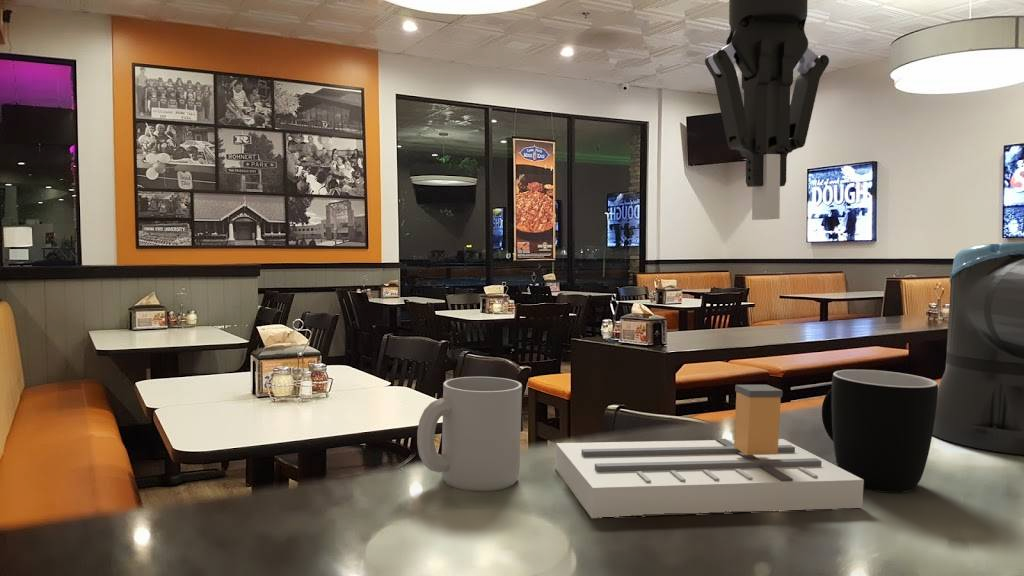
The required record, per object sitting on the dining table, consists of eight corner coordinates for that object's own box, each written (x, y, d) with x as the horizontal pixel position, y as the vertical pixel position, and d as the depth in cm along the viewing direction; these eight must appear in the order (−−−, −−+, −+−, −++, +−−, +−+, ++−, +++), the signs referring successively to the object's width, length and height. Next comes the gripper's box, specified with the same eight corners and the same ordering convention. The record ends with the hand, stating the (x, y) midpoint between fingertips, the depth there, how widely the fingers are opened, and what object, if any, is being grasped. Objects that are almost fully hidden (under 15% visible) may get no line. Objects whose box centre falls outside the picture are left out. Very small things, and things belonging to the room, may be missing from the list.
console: (781, 462, 76) (783, 434, 75) (862, 508, 63) (864, 474, 63) (555, 468, 72) (556, 438, 71) (591, 518, 59) (592, 481, 59)
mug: (954, 493, 67) (961, 385, 67) (876, 502, 65) (883, 388, 64) (856, 456, 79) (861, 363, 78) (786, 462, 76) (791, 365, 75)
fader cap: (763, 446, 70) (766, 384, 69) (779, 454, 67) (782, 390, 66) (732, 446, 69) (735, 384, 69) (746, 455, 66) (749, 390, 66)
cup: (533, 485, 67) (536, 388, 66) (433, 502, 61) (435, 397, 61) (495, 463, 73) (497, 374, 72) (401, 477, 68) (402, 382, 67)
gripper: (803, 1, 79) (800, 220, 81) (691, -6, 77) (690, 220, 78) (848, -24, 72) (844, 217, 73) (727, -33, 69) (726, 218, 71)
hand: (765, 219), depth 76 cm, fingers closed
